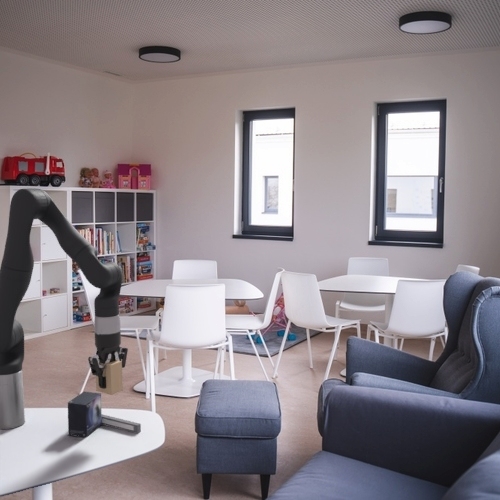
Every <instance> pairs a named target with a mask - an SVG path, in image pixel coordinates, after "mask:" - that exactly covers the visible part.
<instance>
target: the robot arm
mask: <svg viewBox="0 0 500 500" xmlns="http://www.w3.org/2000/svg"><path fill="white" fill-rule="evenodd" d="M34 220H39V221H40V222H42V223H43V224H44V225H46V226H47V227H48V228H49V229H50V230H51V231H52V233H53V234H54V236H55V238H56V240H57V242H58V244H59V246H60V248H61V249H62V251H63V252H64V253H65V255H67V256H68V257H69V258H70V259H71V260H72V261H73V262H74V263H75V264H76V265H78V268H79V270H80V271H81V272H82V274H83V276H84V277H85V279H86V281H88V283H89V284H90V285H91V286H93V287H95V288H97V289H99V294H98V295H97V296H95V298H94V300H93V302H94V303H93V305H94V306H93V307H94V319H93V320H94V321H93V323H94V324H93V327H94V331H93V332H94V345H95V348H96V352H95V354H94V355H93V356H89V357H88V359H87V360H88V364H89V367H90V371H91V374H92V375H93V376H95V377H96V376H98V381H99V387H100V388H103V389H105V388H106V376H105V375H106V369H107V364H109V363H110V362H113V361H122V369H124V368H125V367H126V364H127V363H126V362H127V356H128V351H129V349H128V348H127V347H123V346H120V345H121V344H122V335H121V333H122V331H121V317H120V308H119V307H120V306H119V305H120V304H119V299H120V295H121V294H120V293H121V289H122V284H123V273H122V270H121V267H120V266H119V265H118V264H117V263H116V262H114V261H106V262H101V261H100V260H99V258H98V254H99V252H98V250H97V249H96V248H95V246H94V245H93V244H92V243H90V242H89V240H88V239H86V238H85V237H84V236H83V234H81V233H80V232H79V230H77V229H76V227H74V225H73V224H72V223H71V222H70V220H69V219H68V218H67V216H65V214H64V213H63V212H62V210H61V209H60V208H59V207H58V204H57V203H55V201H54V200H53V198H52V197H51V196H50V195H49V194H48V192H46V191H45V190H43V189H41V188H28V187H27V188H20V189H18V190H17V191H15V193H14V194H13V196H12V198H11V200H10V205H9V215H8V224H7V225H8V227H7V235H6V240H5V245H4V251H3V255H2V259H1V262H0V263H1V264H0V429H2V430H6V429H8V430H10V429H14V428H19V427H21V426H22V425H24V424H25V422H26V418H25V417H26V416H25V397H24V377H23V376H24V375H23V364H24V360H25V333H24V328H23V326H22V324H21V323H20V322H19V321H18V320H17V319H16V314H17V311H18V308H19V306H20V305H21V303H22V300H23V299H24V297H25V295H26V293H27V291H28V289H29V286H30V285H31V284H30V283H31V282H32V276H33V270H34V265H35V259H34V254H33V250H32V246H31V240H30V239H31V238H30V237H31V233H32V227H33V222H34ZM100 363H103V364H105V365H104V366H103V365H100ZM101 368H102V369H103V370H102V372H101Z"/></svg>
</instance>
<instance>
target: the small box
mask: <svg viewBox="0 0 500 500" xmlns="http://www.w3.org/2000/svg"><path fill="white" fill-rule="evenodd" d="M67 420H68V421H67V423H68V424H67V427H68V429H67V430H68V431H67V436H72V437H80V438H87V437H89V436H90V435H91V434H92V433H94V431H96V430H97V429H98V428H100V427H101V426H102V425H103V424H102V392H91V391H82V392H81V393H80V394H78V395H77V396H75V397H74V398H72V399H71V400H70V401H68V402H67Z"/></svg>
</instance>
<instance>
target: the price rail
mask: <svg viewBox="0 0 500 500" xmlns="http://www.w3.org/2000/svg"><path fill="white" fill-rule="evenodd" d="M101 414H102V413H101ZM102 425H103V426H106V427H107V426H108V427H111V428H115V429H118V430H119V429H120V430H124V431H128V432H131V433H134V434H135V433H136V434H139V433H141V431H142V430H141V429H142V428H141V425H142V424H141V423H138V422H134V421H131V420H126V419H122V418H119V417H115V416H110V415H107V414H102Z"/></svg>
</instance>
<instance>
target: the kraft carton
mask: <svg viewBox="0 0 500 500" xmlns="http://www.w3.org/2000/svg"><path fill="white" fill-rule="evenodd" d="M100 365H103V366H104V365H105V364H103V363H100ZM102 370H103V369H102V368H101V372H102ZM105 376H106V388H105V389H103V388H100V387H99V381H98V376H96V375H95V385H96V386H95V387H96V391H97V392H98V393H104V394H105V395H111V396H113V395H115V394H118V393H120V392H122V391H124V390H123V389H124V387H123V386H124V385H123V368H122V360H121V361H113V362H110V363H109V364H107V369H106V375H105Z"/></svg>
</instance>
